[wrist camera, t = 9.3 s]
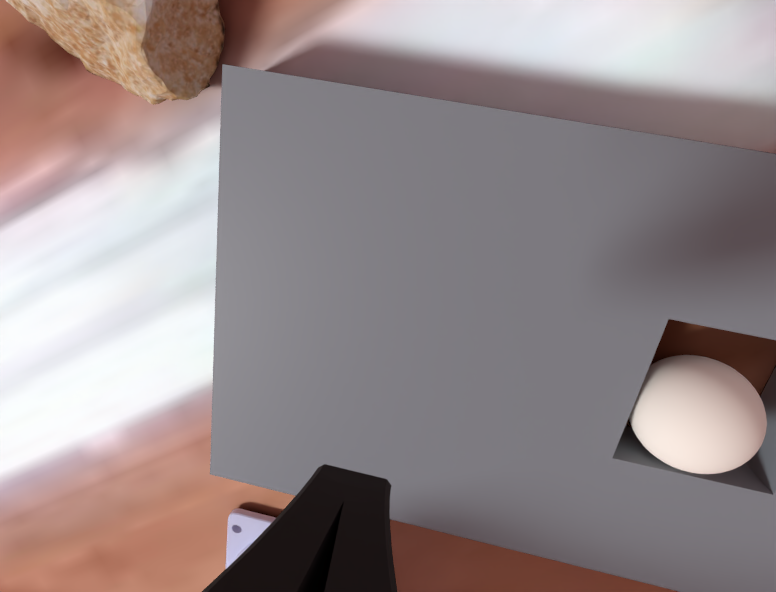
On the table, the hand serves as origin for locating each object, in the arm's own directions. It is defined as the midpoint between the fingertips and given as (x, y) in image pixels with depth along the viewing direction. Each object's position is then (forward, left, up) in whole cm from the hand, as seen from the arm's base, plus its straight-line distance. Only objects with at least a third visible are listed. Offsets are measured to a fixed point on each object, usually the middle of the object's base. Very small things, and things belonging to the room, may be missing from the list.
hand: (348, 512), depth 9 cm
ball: (-1, -10, -8) cm, 13 cm away
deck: (0, -5, -10) cm, 12 cm away
